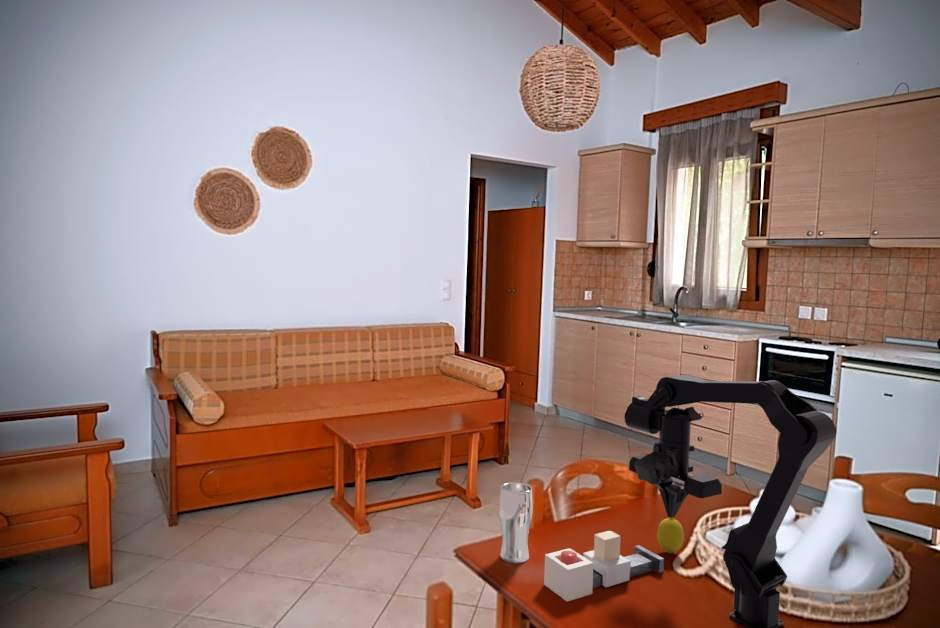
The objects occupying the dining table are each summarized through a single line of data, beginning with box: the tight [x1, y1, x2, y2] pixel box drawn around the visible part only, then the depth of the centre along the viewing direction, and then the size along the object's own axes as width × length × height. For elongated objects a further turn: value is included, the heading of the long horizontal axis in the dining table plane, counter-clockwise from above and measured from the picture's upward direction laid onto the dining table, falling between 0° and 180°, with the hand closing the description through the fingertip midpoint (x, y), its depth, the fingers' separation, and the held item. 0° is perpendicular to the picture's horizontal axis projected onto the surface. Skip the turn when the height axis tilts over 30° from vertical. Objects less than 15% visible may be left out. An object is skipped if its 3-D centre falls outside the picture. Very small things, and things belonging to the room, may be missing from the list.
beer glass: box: [499, 481, 534, 564], centre depth 131 cm, size 7×7×15 cm
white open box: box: [543, 548, 594, 602], centre depth 118 cm, size 7×6×6 cm
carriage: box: [582, 530, 631, 588], centre depth 122 cm, size 7×6×8 cm
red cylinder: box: [561, 550, 577, 565], centre depth 118 cm, size 3×3×5 cm
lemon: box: [656, 517, 685, 554], centre depth 134 cm, size 6×6×8 cm
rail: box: [592, 544, 665, 589], centre depth 124 cm, size 7×17×3 cm, turn 120°
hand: (671, 517), depth 122 cm, fingers closed
